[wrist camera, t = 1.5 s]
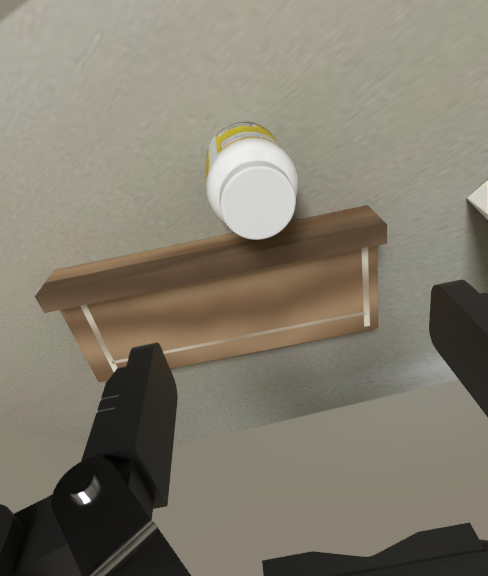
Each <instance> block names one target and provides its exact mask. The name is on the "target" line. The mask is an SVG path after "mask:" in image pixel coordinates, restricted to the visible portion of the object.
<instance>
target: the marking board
mask: <svg viewBox="0 0 488 576" xmlns="http://www.w3.org/2000/svg"><path fill="white" fill-rule="evenodd" d="M382 244H387V224H386V223H385V222H384V221H383V220H382V219H381V218H380V217H379V216H378V215H377V214H376V213H375V212H374V211H373V210H372V209H371V208H370V207H369V206H368V205H367V206H362V207H357V208H353V209H348V210H343V211H338V212H333V213H329V214H324V215H319V216H314V217H309V218H304V219H300V220H295V221H290V222H289V223H288V224H287V226H286V227H285V228H284V229H283V230H281V231H280V232H279V233H277V234H276V235H274V236H271V237H269V238H265V239H259V240H255V239H247V238H244V237H242V236H239V235H238V234H236V233H232V234H227V235H222V236H217V237H213V238H208V239H203V240H198V241H193V242H188V243H184V244H179V245H174V246H169V247H164V248H159V249H155V250H150V251H145V252H140V253H135V254H130V255H126V256H121V257H116V258H111V259H106V260H102V261H97V262H92V263H87V264H82V265H77V266H73V267H68V268H63V269H58V270H54V271H53V272H52V274H51V275H50V276H49V278H48V279H47V281H46V282H45V283H44V285H43V286H42V288H41V289H40V290H39V292H38V293H37V295H36V296H35V297H36V299H37V301H38V303H39V304H40V306H41V308H42V310H43V311H44V313H47V312H52V311H56V310H60V311H61V313H62V315H63V317H64V319H65V321H66V323H67V324H68V326H69V328H70V330H71V332H72V334H73V335H74V337H75V339H76V341H77V343H78V345H79V347H80V348H81V350H82V352H83V354H84V356H85V358H86V359H87V361H88V363H89V365H90V367H91V369H92V370H93V372H94V374H95V376H96V378H97V380H98V382H104V381H108V380H109V378H110V377H111V376H112V374H113V373H114V372H115V371H116V369H117V368H121V367H126V365H127V362H128V358H129V354H130V351H131V349H132V348H133V347H137V346H142V345H147V344H152V343H156V342H157V343H159V344H160V346H161V348H162V350H163V353H164V355H165V358H166V360H167V363H168V365H169V368H170V369H171V368H176V367H181V366H186V365H191V364H196V363H201V362H207V361H212V360H217V359H222V358H227V357H232V356H238V355H243V354H248V353H253V352H258V351H263V350H268V349H274V348H279V347H284V346H289V345H294V344H299V343H304V342H310V341H315V340H320V339H325V338H330V337H335V336H341V335H346V334H351V333H356V332H361V331H366V330H371V329H377V328H378V270H377V245H382Z"/></svg>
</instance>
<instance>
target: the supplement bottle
mask: <svg viewBox="0 0 488 576" xmlns="http://www.w3.org/2000/svg"><path fill="white" fill-rule="evenodd" d="M206 190H207V196H208V200H209V203H210V205H211V207H212V209H213V210H214V212H215V213H216V215H217V216H218V217H219V218H220V219H221V220H222V221H223V222H225V223H226V224H227V226H228V227H229V228H230V229H231V230H232V231H233V232H234V233H236V234H238V235H239V236H242V237H244V238H247V239H255V240H259V239H265V238H269V237H271V236H274V235H276V234H277V233H279V232H280V231H281V230H283V229H284V228H285V227H286V226H287V224H288V223H289V222H290V220H291V218H292V216H293V214H294V211H295V205H296V196H297V191H298V177H297V172H296V169H295V166H294V164H293V162H292V160H291V159H290V157H289V156H288V154H287V153H286V152H285V150H284V149H283V148H282V147H281V145H280V144H279V143H278V141H277V140H276V139H275V138H274V136H273V135H272V134H271V133H270V132H269V131H268V130H267V129H265V128H264V127H262V126H260V125H258V124H256V123H252V122H245V121H243V122H236V123H232V124H230V125H227V126H226V127H224V128H223V129H221V130H220V131H219V132H218V133H217V134H216V135H215V136H214V138H213V139H212V141H211V143H210V145H209V148H208V151H207V157H206Z"/></svg>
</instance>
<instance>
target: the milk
mask: <svg viewBox="0 0 488 576" xmlns="http://www.w3.org/2000/svg"><path fill="white" fill-rule="evenodd" d="M467 199H468V200H469V201H470V202H471V204H472V205H473V206H474V207H475V208H476V209H477V210H478V211H479V212H480V213H481V214H482V215H483V216H484V217H485V218H486V219H487V220H488V180H487V181H486V182H485V183H484V184H482V185H481V186H480V187H479V188H478V189H477V190H475V191H474V192H473V193H472V194H471V195H470V196H468V197H467Z"/></svg>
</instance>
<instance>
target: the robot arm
mask: <svg viewBox="0 0 488 576" xmlns="http://www.w3.org/2000/svg"><path fill="white" fill-rule="evenodd" d="M429 332H430V337H431V340H432V343H433V345H434V347H435V348H436V350H437V351H438V353H439V354H440V355H441V356H442V358H443V359H444V360H445V362H446V363H447V364H448V366H449V367H450V368H451V370H452V371H453V372H454V373H455V375H456V376H457V377H458V379H459V380H460V381H461V382H462V384H463V385H464V386H465V388H466V389H467V391H468V392H469V393H470V394H471V396H472V397H473V398H474V400H475V401H476V402H477V404H478V405H479V406H480V408H481V409H482V410H483V411H484V413H485V414H486V415H487V417H488V293H483V294H480V293H478V292H477V291H476V290H475V289H474V288H473V287H472V286H471V285H469V284H468V283H467V282H466V281H464V280H457V281H452V282H447V283H443V284H438V285H434V286H433V288H432V290H431V304H430V322H429ZM101 398H102V400H101V401H100V404H99V407H98V413H96V416H95V419H94V423H93V426H92V429H91V432H90V435H89V438H88V442H87V445H86V448H85V451H84V454H83V457H82V460H81V462H79V463H78V464H76V465H75V466H73V467H72V468H71V469H70V470H68V471H67V472H66V473H65V474H64V475H63V477H62V478H61V479H60V480H59V482H58V483H57V485H56V487H55V489H54V491H53V494H52V495H50V496H49V497H47V498H45V499H43V500H41V501H39V502H37V503H35V504H33V505H31V506H29V507H27V508H25V509H23V510H21V511H19V512H17V513H15V514H13V513H12V512H11V511H10V510H9V508H8V507H6V506H4V505H1V504H0V576H191V574H190V573H189V572H188V570H187V569H186V567H185V566H184V564H183V563H182V562H181V560H180V558H179V557H178V556H177V554H176V553H175V551H174V550H173V548H172V547H171V546H170V544H169V543H168V541H167V540H166V538H165V537H164V535H163V534H162V533H161V531H160V530H159V528H158V527H157V526H156V524H155V523H154V522H152V512H153V509H155V508H160V507H165V506H167V504H168V493H169V483H170V472H171V462H172V451H173V441H174V430H175V420H176V409H177V388H176V384H175V380H174V377H173V375H172V373H171V370H170V368H169V365H168V363H167V360H166V358H165V355H164V353H163V350H162V348H161V346H160V344H159V343H157V342H156V343H152V344H147V345H142V346H137V347H133V348H132V349H131V351H130V354H129V358H128V362H127V365H126V367H121V368H117V369H116V371H115V372H114V373H113V374H112V376H111V377H110V378H109V380H108V381H107V382H106V385H105V388H104V391H103V394H102V397H101ZM262 563H263V572H264V576H488V541H487V540H479V538H478V537H477V535H476V533H475V531H474V529H473V528H472V526H471V524H470V523H465V524H459V525H454V526H449V527H443V528H437V529H432V530H427V531H421V532H417V533H415V534H413V535H412V536H410V537H408V538H406V539H404V540H402V541H400V542H398V543H396V544H395V545H393V546H391V547H389V548H387V549H385V550H384V551H381V552H380V553H378V554H376V555H373V556H370V557H359V556H350V555H341V554H332V553H321V552H307V553H302V554H296V555H290V556H285V557H280V558H274V559H269V560H263V561H262Z"/></svg>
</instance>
